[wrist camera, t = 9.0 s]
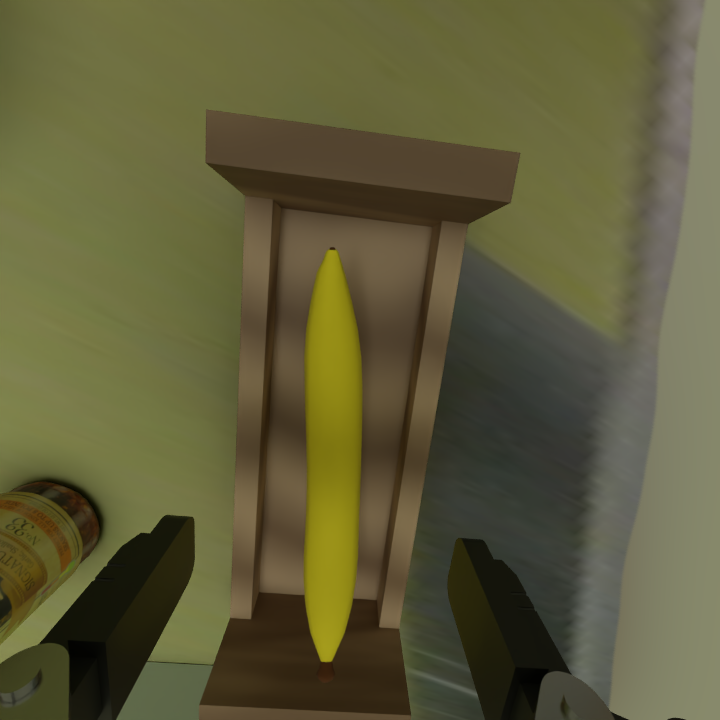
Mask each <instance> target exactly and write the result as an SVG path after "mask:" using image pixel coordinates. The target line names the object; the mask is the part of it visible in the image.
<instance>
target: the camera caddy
mask: <svg viewBox="0 0 720 720" xmlns="http://www.w3.org/2000/svg"><path fill="white" fill-rule="evenodd" d="M212 667H213V666H212V665H194V664H176V663H158V662H146V664H145V666H144V668H143V670H142V672H141V674H140V675H139V677H138V679H137V681H136V683H135V685H134V687H133V689H132V691H131V692H130V694H129V696H128V698H127V700H126V702H125V704H124V706H123V708H122V709H121V711H120V713H119V715H118V717H117V719H116V720H199V704H200V701H201V698H202V695H203V693H204V690H205V687H206V684H207V681H208V679H209V676H210V673H211V670H212Z"/></svg>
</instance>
